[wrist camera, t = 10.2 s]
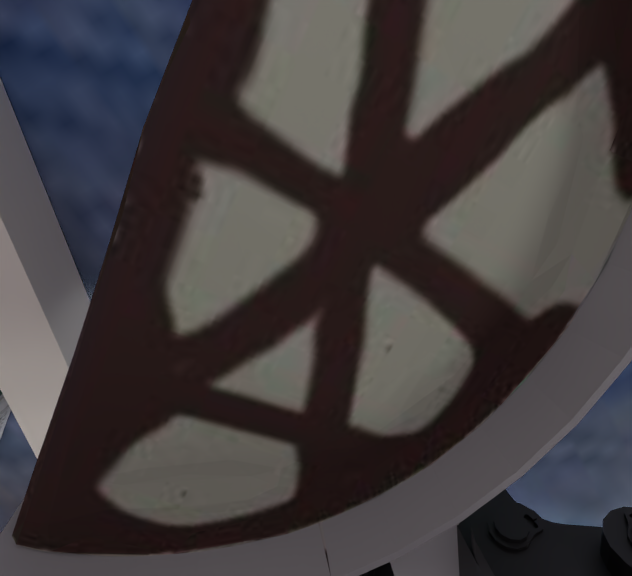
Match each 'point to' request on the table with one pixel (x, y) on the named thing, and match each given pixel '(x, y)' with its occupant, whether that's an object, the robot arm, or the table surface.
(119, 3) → the table surface
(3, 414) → the crayon box
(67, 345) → the cream bay
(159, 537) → the food container
